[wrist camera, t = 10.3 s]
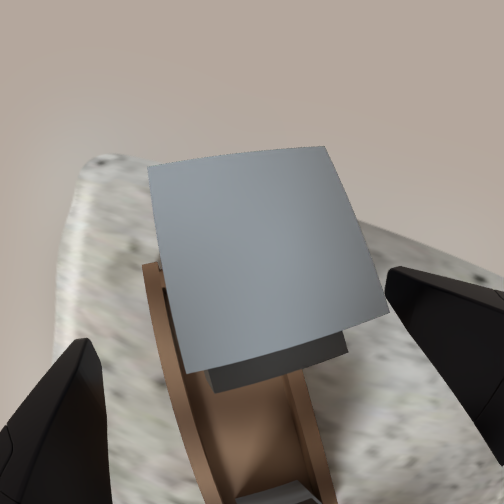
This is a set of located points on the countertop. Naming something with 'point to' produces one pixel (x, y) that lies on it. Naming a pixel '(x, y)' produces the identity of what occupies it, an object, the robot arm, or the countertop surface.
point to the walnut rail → (241, 426)
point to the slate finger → (261, 262)
